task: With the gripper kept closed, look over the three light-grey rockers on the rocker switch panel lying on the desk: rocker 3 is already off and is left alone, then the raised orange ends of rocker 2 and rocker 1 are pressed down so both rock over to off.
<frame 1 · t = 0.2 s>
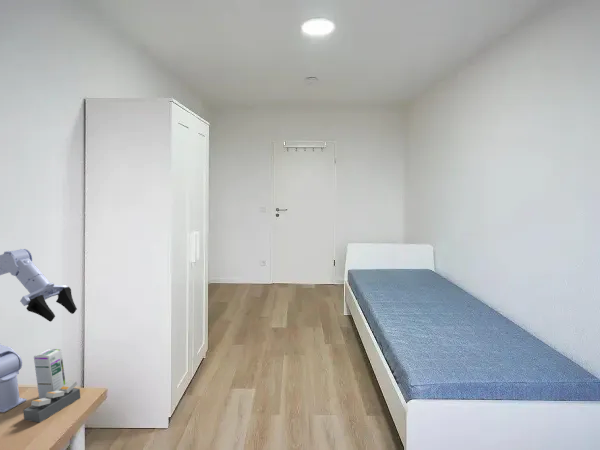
hand: (63, 315, 128), 31 cm above the table, tool tilted 45°, fingers open, 7 cm apart
rocker switch panel: (53, 408, 137), on the table
rocker 1: (41, 401, 132), point 5 cm above the table, hinge at -15.0°
rocker 3: (68, 386, 141), point 5 cm above the table, hinge at 15.0°
rocker 2: (55, 393, 136), point 5 cm above the table, hinge at -15.0°
syrup box: (52, 395, 146), on the table
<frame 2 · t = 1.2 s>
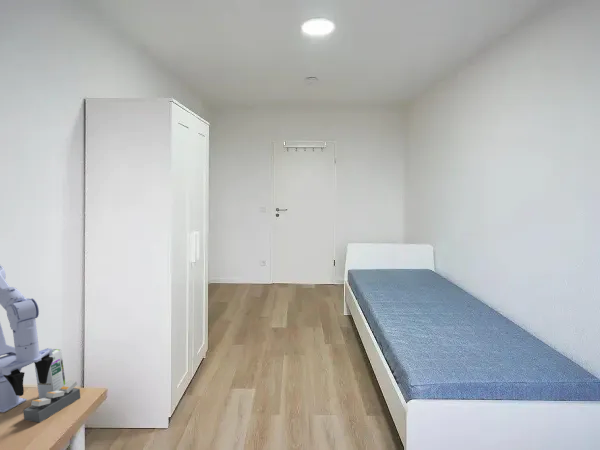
hand: (31, 388, 129), 10 cm above the table, tool pointing down, fingers open, 7 cm apart
nothing on the table moved.
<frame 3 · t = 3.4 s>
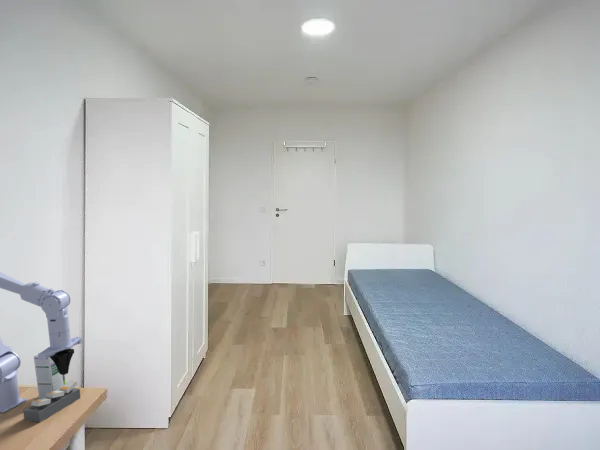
hand: (63, 373, 139), 9 cm above the table, tool pointing down, fingers closed
nothing on the table moved.
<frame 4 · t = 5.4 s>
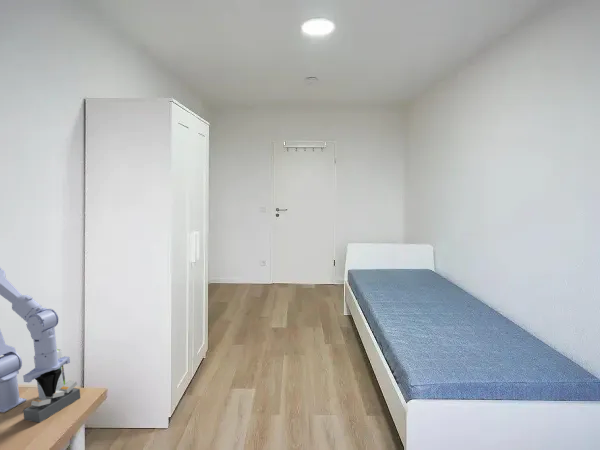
hand: (50, 395, 135), 5 cm above the table, tool pointing down, fingers closed, pressing on rocker 2
rocker 2: (55, 393, 136), point 5 cm above the table, hinge at -14.5°, touching gripper
everything else where it was.
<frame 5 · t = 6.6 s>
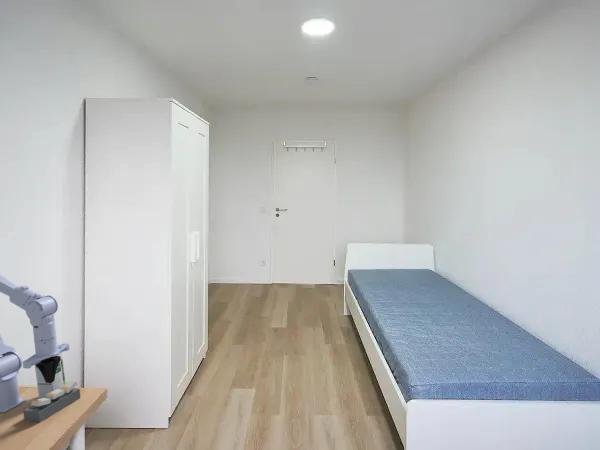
hand: (50, 381, 135), 9 cm above the table, tool pointing down, fingers closed
rocker 2: (55, 393, 136), point 5 cm above the table, hinge at -2.3°
everything else where it was.
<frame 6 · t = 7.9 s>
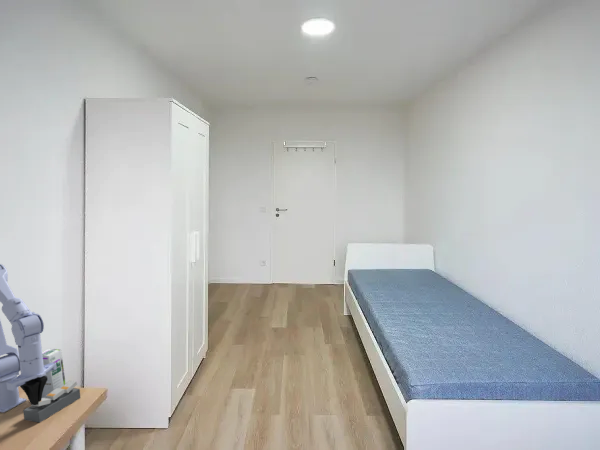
hand: (36, 403, 130), 5 cm above the table, tool pointing down, fingers closed, pressing on rocker 1
rocker 1: (41, 401, 132), point 5 cm above the table, hinge at -14.5°, touching gripper
rocker 2: (55, 394, 136), point 5 cm above the table, hinge at 7.9°
everything else where it was.
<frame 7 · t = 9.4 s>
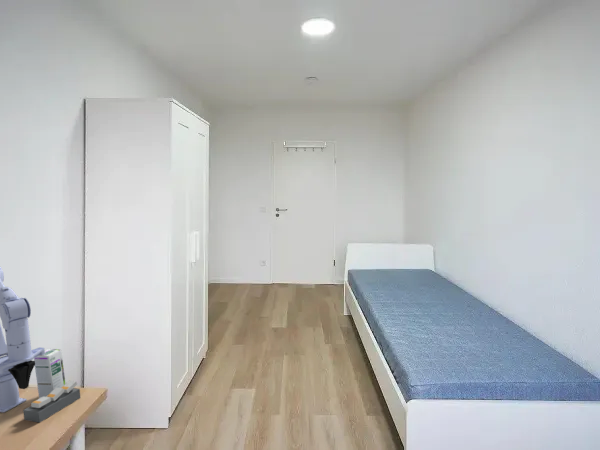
hand: (23, 387, 129), 10 cm above the table, tool pointing down, fingers closed
rocker 1: (41, 401, 132), point 5 cm above the table, hinge at 0.3°
rocker 2: (55, 394, 136), point 5 cm above the table, hinge at 16.8°
everything else where it was.
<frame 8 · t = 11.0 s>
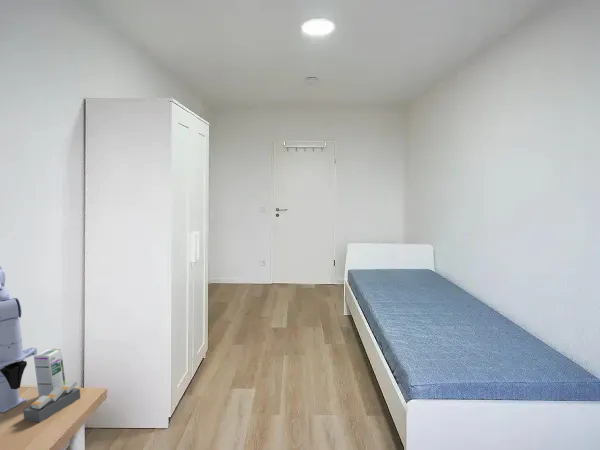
hand: (15, 388, 129), 10 cm above the table, tool pointing down, fingers closed
rocker 1: (41, 401, 132), point 5 cm above the table, hinge at 11.9°
rocker 2: (55, 394, 136), point 5 cm above the table, hinge at 23.9°
everything else where it was.
at the end: rocker 2 at +24° (first picture: -15°); rocker 1 at +12° (first picture: -15°); rocker 3 at +15° (first picture: +15°) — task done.
